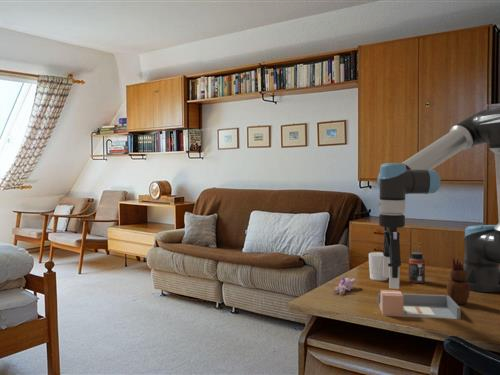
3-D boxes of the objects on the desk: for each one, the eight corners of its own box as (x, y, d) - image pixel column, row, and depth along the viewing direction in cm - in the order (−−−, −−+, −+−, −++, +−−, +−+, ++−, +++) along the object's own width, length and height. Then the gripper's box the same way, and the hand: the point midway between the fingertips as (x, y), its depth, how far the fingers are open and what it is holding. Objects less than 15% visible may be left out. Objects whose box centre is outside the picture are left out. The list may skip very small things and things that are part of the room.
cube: (400, 309, 140) (400, 290, 140) (403, 315, 134) (403, 295, 134) (379, 308, 141) (380, 289, 141) (382, 314, 136) (382, 294, 135)
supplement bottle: (424, 284, 170) (424, 254, 170) (408, 282, 173) (408, 253, 172) (425, 280, 176) (425, 252, 175) (409, 279, 178) (409, 251, 178)
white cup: (366, 276, 184) (366, 252, 183) (386, 276, 183) (386, 252, 183) (371, 281, 176) (371, 256, 175) (391, 281, 176) (391, 256, 175)
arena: (448, 306, 144) (448, 295, 144) (460, 319, 131) (460, 308, 131) (377, 303, 148) (378, 292, 148) (382, 316, 135) (383, 305, 135)
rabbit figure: (345, 301, 155) (360, 284, 167) (344, 285, 154) (359, 269, 166) (329, 298, 159) (345, 282, 171) (327, 282, 158) (344, 267, 170)
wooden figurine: (449, 305, 145) (450, 259, 144) (444, 299, 151) (445, 255, 150) (471, 305, 144) (472, 259, 143) (465, 300, 150) (466, 256, 149)
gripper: (374, 209, 149) (373, 272, 150) (384, 217, 125) (383, 293, 126) (398, 210, 148) (397, 273, 149) (412, 218, 124) (411, 294, 124)
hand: (390, 282), depth 137 cm, fingers open, 13 cm apart
